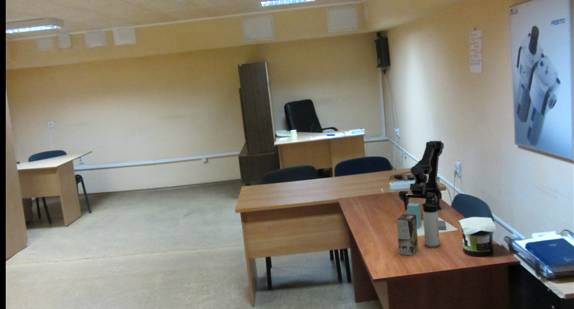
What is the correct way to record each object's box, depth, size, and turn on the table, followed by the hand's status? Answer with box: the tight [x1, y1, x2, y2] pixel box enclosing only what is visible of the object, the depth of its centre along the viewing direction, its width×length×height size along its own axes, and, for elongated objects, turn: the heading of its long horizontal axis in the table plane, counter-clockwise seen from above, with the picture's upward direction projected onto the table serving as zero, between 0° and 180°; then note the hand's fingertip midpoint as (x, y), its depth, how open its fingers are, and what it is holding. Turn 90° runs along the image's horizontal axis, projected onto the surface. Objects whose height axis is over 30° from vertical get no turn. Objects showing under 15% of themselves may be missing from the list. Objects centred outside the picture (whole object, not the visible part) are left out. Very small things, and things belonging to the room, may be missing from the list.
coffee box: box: [396, 213, 419, 256], centre depth 207 cm, size 9×6×16 cm
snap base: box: [438, 220, 446, 230], centre depth 231 cm, size 8×8×2 cm
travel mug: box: [421, 202, 440, 249], centre depth 210 cm, size 6×7×20 cm
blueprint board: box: [417, 217, 459, 237], centre depth 233 cm, size 23×20×1 cm
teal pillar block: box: [406, 202, 422, 229], centre depth 233 cm, size 5×5×12 cm
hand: (414, 211), depth 234 cm, fingers open, 9 cm apart
